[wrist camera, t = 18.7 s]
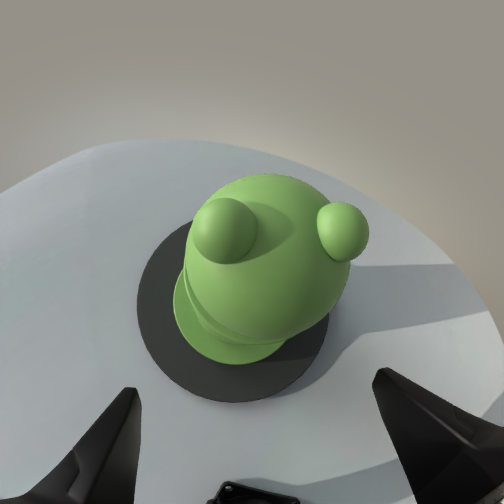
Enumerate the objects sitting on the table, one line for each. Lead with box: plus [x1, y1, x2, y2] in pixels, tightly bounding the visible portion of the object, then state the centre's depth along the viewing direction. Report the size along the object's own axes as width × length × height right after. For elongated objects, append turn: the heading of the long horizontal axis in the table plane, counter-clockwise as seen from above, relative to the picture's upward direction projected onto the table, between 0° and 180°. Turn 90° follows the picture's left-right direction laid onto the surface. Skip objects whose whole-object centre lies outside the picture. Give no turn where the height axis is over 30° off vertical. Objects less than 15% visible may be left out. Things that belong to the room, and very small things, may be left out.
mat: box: [137, 220, 329, 403], centre depth 21 cm, size 14×14×1 cm
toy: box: [173, 174, 369, 365], centre depth 13 cm, size 8×8×15 cm
